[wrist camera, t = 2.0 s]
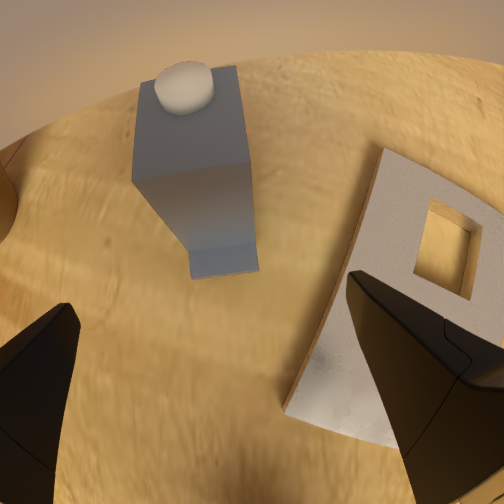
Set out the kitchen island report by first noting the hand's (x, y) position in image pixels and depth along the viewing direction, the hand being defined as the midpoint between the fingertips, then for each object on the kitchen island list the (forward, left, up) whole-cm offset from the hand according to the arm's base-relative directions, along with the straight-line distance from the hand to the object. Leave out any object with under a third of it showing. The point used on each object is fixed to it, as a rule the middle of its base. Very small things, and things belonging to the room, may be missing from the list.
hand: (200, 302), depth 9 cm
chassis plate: (+10, -11, -13) cm, 20 cm away
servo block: (+5, +6, -14) cm, 15 cm away
